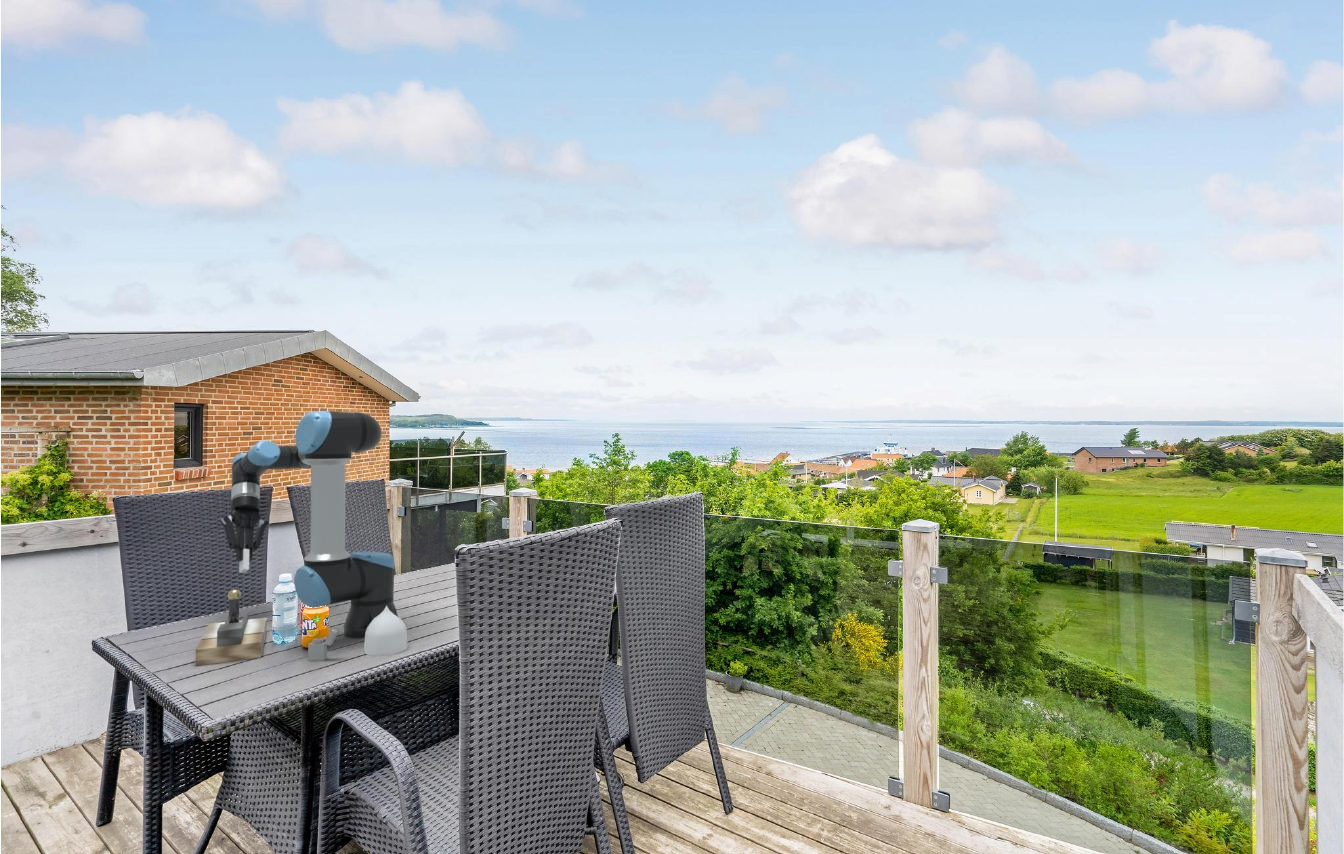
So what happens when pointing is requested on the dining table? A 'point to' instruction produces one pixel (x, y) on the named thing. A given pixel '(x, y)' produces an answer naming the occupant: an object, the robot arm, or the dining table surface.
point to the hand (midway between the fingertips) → (244, 571)
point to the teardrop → (385, 635)
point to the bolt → (234, 605)
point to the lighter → (321, 647)
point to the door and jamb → (232, 641)
